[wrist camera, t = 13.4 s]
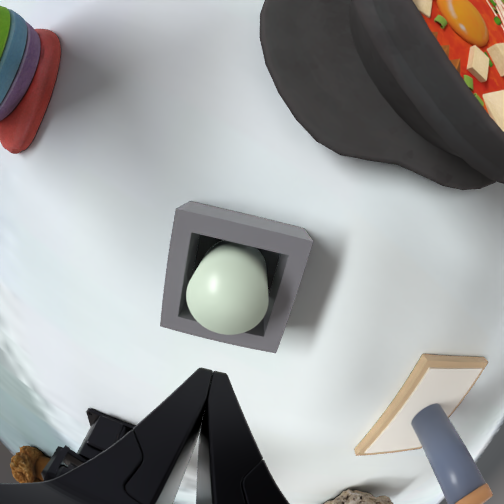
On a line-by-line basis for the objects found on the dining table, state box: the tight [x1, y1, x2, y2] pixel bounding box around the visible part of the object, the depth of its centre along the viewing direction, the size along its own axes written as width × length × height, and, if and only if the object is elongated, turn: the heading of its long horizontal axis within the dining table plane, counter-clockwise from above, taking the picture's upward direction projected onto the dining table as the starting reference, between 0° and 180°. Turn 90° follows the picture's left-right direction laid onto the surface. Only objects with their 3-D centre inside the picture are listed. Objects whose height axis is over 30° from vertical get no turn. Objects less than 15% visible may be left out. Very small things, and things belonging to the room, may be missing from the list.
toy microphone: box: [411, 403, 493, 504], centre depth 14 cm, size 4×4×13 cm
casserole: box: [260, 0, 504, 190], centre depth 9 cm, size 25×19×8 cm
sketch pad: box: [354, 354, 488, 456], centre depth 21 cm, size 14×10×1 cm
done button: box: [186, 240, 269, 335], centre depth 15 cm, size 4×4×4 cm
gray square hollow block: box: [160, 201, 313, 353], centre depth 16 cm, size 7×7×3 cm
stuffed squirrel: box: [10, 446, 51, 483], centre depth 25 cm, size 10×14×13 cm
